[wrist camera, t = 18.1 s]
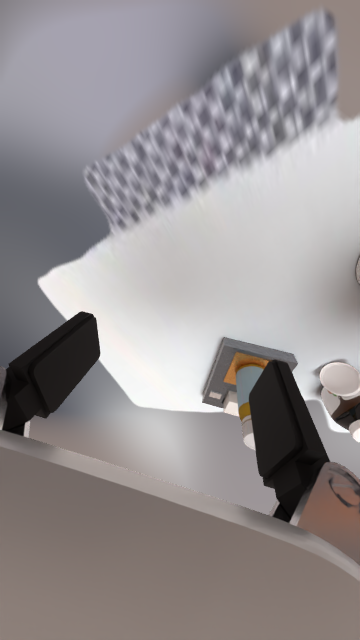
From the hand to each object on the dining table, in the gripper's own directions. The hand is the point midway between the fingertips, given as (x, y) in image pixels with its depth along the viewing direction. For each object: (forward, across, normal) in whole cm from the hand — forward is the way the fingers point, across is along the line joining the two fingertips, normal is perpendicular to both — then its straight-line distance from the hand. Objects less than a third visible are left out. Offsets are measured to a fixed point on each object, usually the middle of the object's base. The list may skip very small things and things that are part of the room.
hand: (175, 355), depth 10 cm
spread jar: (+29, -36, +22) cm, 51 cm away
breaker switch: (+28, -16, +35) cm, 47 cm away
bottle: (+25, -16, +24) cm, 38 cm away
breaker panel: (+28, -16, +29) cm, 44 cm away
